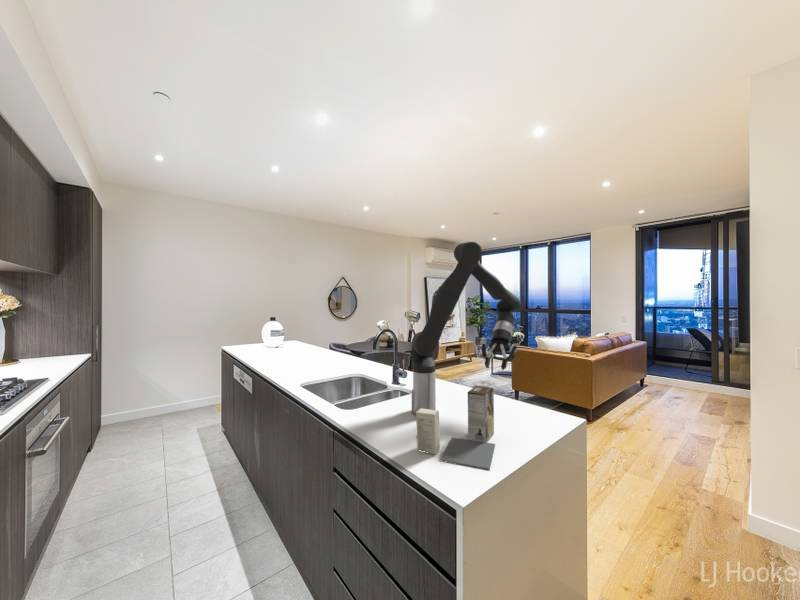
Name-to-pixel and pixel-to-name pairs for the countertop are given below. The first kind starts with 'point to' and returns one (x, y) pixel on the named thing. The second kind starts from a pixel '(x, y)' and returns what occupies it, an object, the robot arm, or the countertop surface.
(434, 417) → the skincare box
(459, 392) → the countertop surface
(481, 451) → the mat
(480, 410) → the coffee box
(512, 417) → the countertop surface
